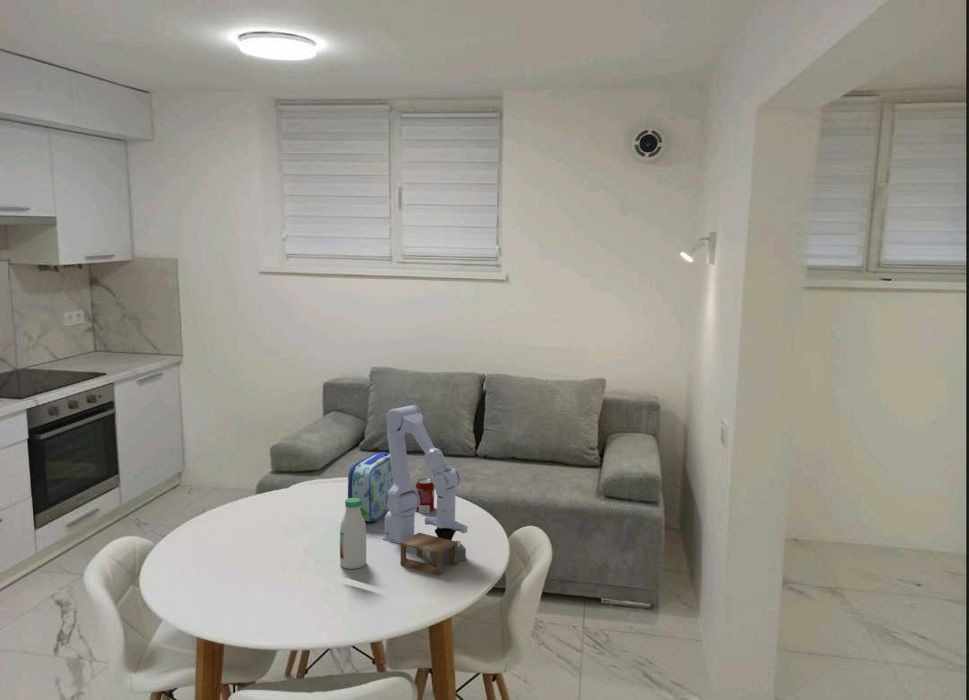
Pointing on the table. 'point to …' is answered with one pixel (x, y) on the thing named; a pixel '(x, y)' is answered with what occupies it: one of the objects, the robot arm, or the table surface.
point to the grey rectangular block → (450, 554)
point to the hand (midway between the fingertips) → (445, 550)
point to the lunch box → (371, 484)
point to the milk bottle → (353, 536)
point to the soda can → (425, 495)
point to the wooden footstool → (429, 545)
